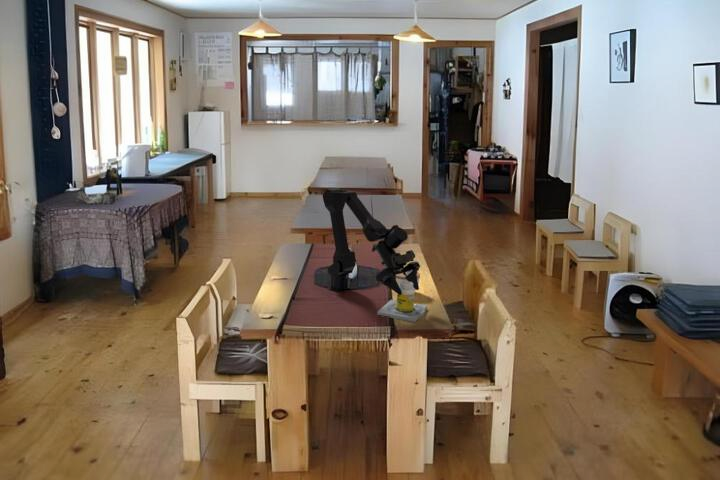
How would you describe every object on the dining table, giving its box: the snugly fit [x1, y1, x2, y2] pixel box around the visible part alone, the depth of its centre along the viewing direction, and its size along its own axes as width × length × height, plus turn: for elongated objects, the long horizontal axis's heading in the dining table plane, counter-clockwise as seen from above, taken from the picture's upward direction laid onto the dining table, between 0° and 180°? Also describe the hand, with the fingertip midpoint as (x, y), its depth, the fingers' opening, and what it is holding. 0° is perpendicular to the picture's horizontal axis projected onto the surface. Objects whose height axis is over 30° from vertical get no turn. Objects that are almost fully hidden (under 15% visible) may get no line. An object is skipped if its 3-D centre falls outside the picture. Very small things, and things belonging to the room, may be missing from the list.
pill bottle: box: [396, 281, 416, 313], centre depth 272 cm, size 6×6×11 cm
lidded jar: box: [396, 271, 421, 292], centre depth 296 cm, size 11×11×9 cm
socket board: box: [376, 299, 428, 323], centre depth 274 cm, size 15×16×1 cm
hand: (409, 292), depth 271 cm, fingers open, 9 cm apart
